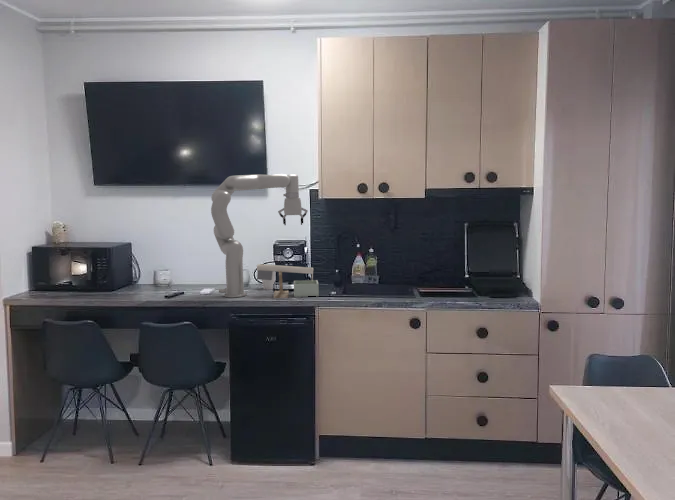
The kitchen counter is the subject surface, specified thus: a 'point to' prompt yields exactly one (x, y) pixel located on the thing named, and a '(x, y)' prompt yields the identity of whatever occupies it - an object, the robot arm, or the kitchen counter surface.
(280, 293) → the lever stand
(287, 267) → the tipping trough
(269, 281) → the foam cup
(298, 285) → the cup
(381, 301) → the kitchen counter surface
